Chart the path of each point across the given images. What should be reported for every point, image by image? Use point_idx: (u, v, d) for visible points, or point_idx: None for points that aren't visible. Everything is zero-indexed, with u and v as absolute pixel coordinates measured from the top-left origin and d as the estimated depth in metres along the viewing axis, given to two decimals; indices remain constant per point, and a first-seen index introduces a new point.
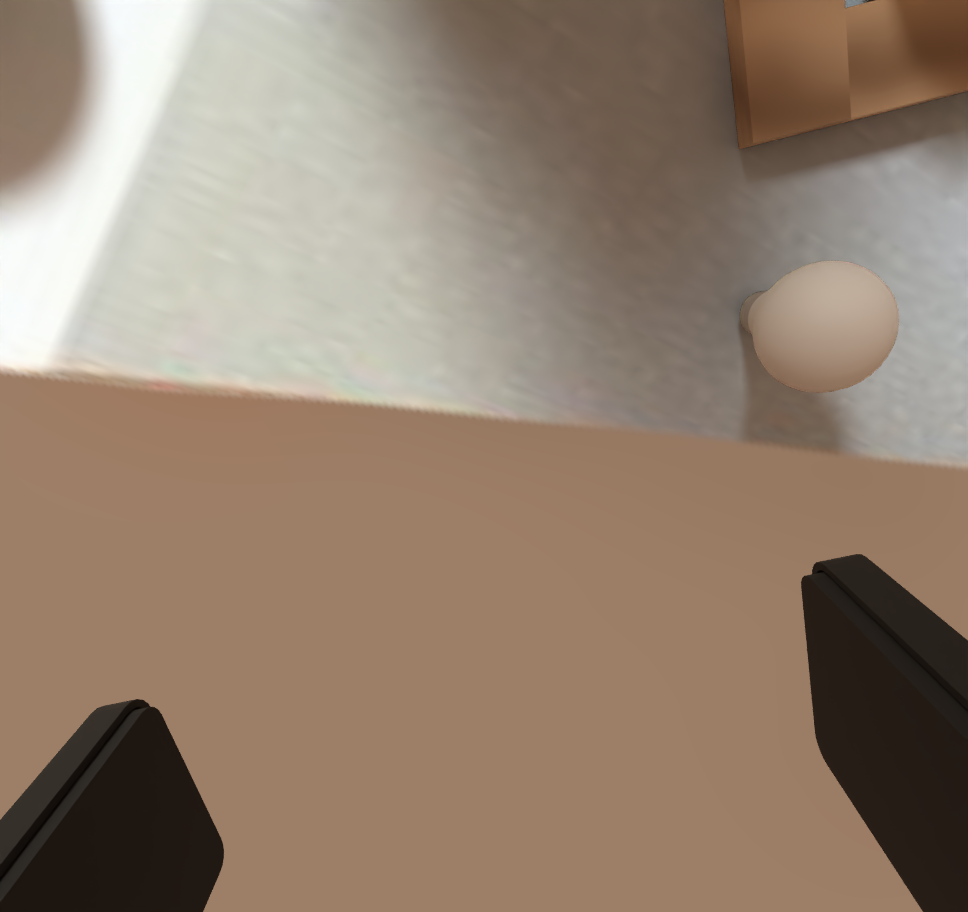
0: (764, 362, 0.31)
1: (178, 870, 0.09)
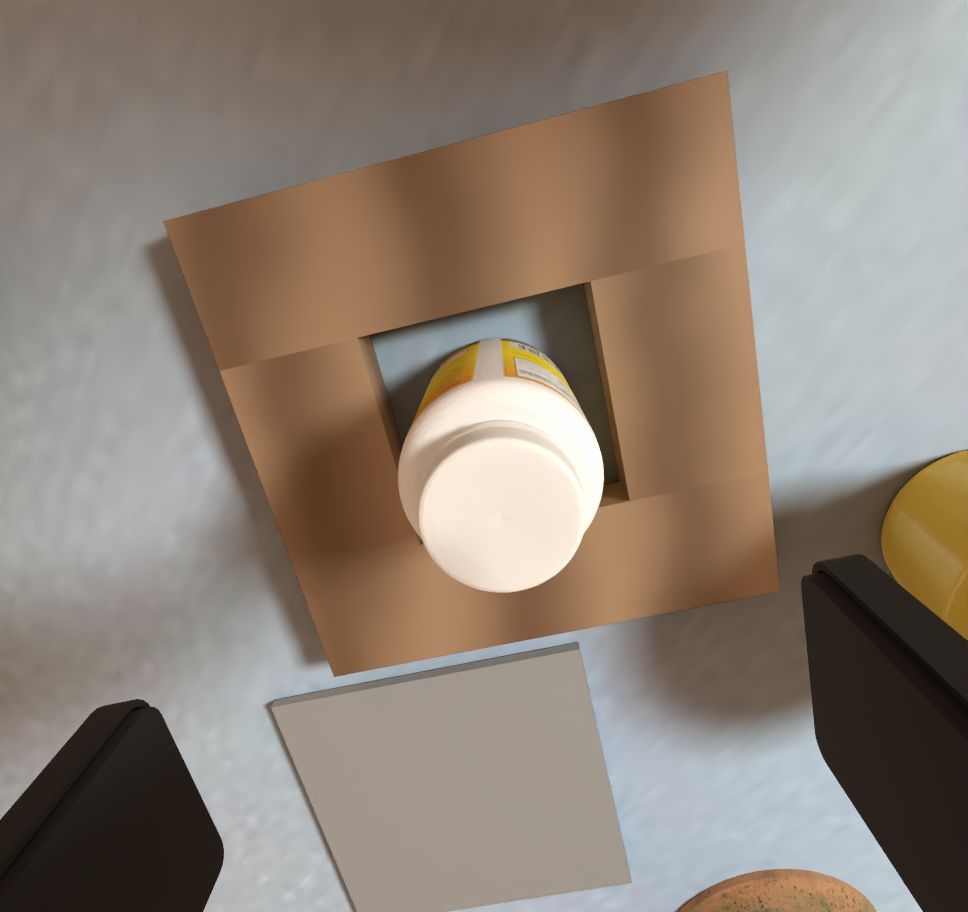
0: None
1: (179, 870, 0.09)
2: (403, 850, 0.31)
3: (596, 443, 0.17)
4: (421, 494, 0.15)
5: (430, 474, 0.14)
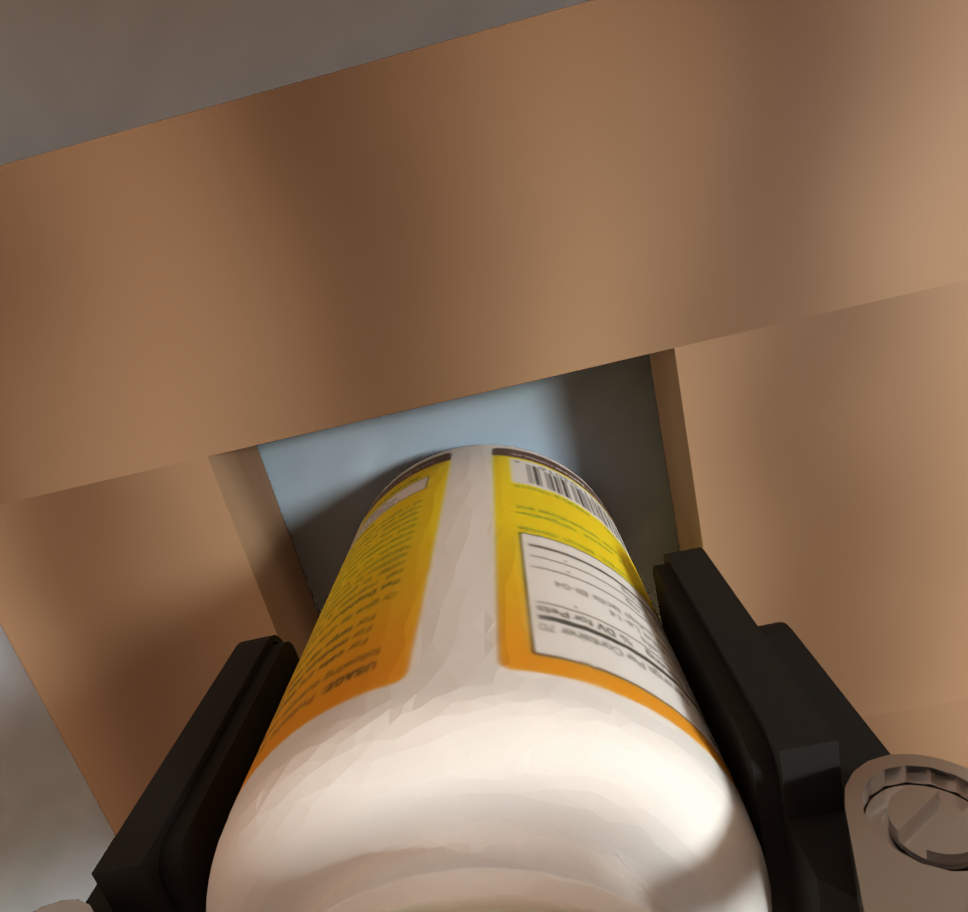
0: None
1: None
2: None
3: (759, 851, 0.06)
4: None
5: None
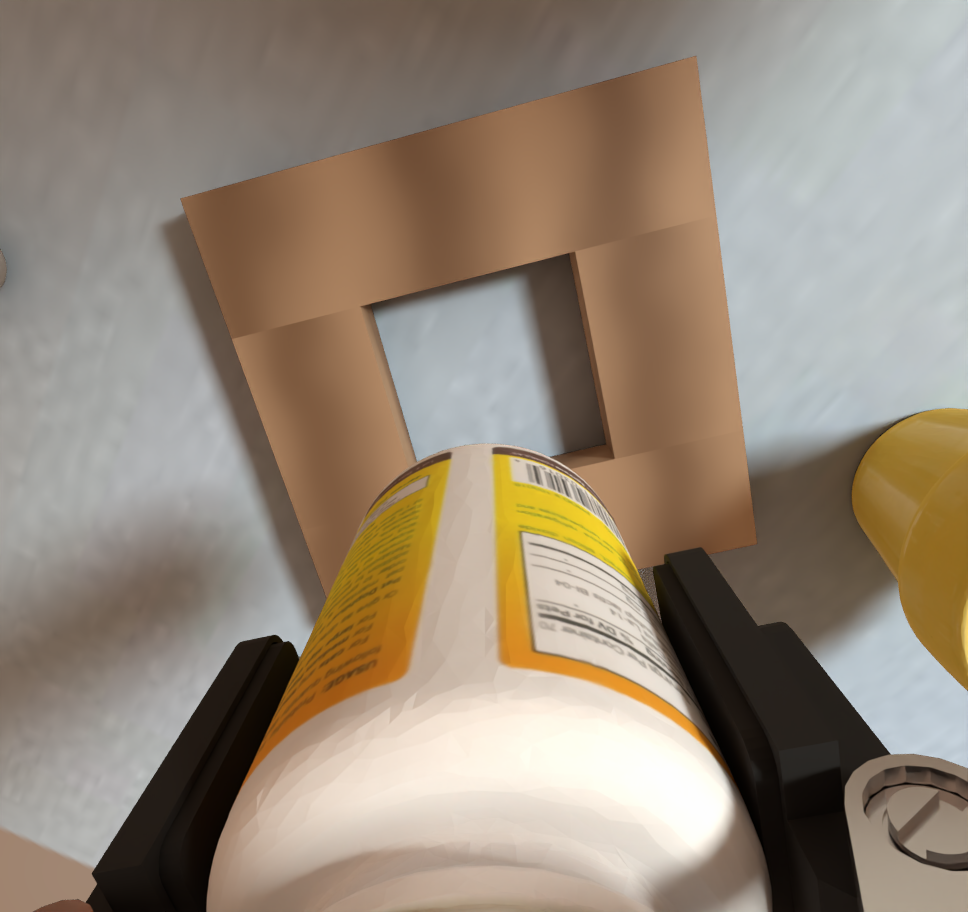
0: None
1: None
2: None
3: (759, 850, 0.06)
4: None
5: None
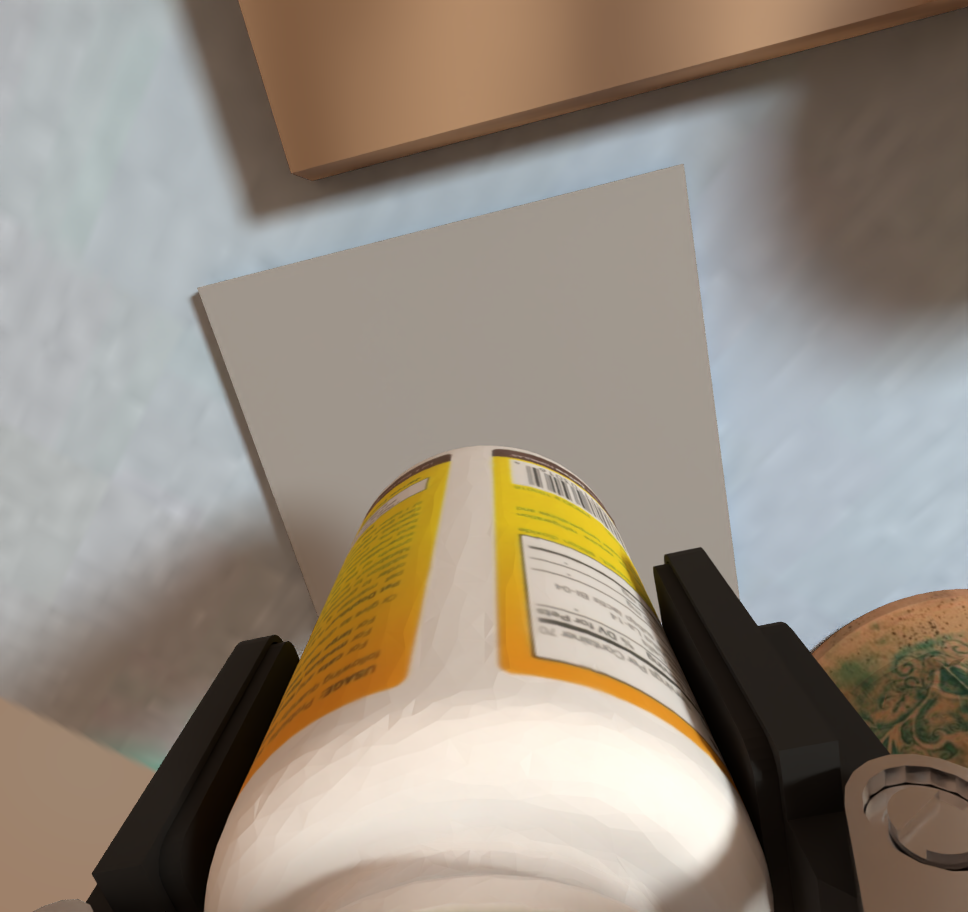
0: None
1: None
2: None
3: (761, 857, 0.06)
4: None
5: None
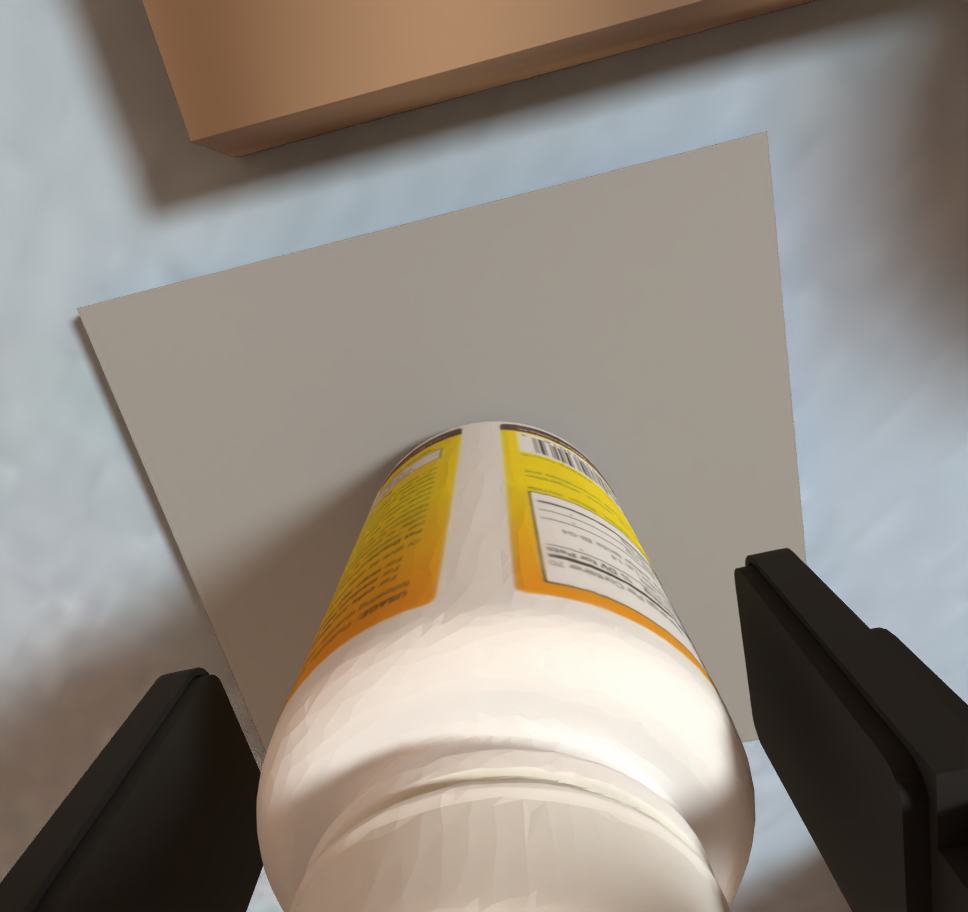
0: None
1: (240, 830, 0.09)
2: None
3: (743, 753, 0.07)
4: None
5: None
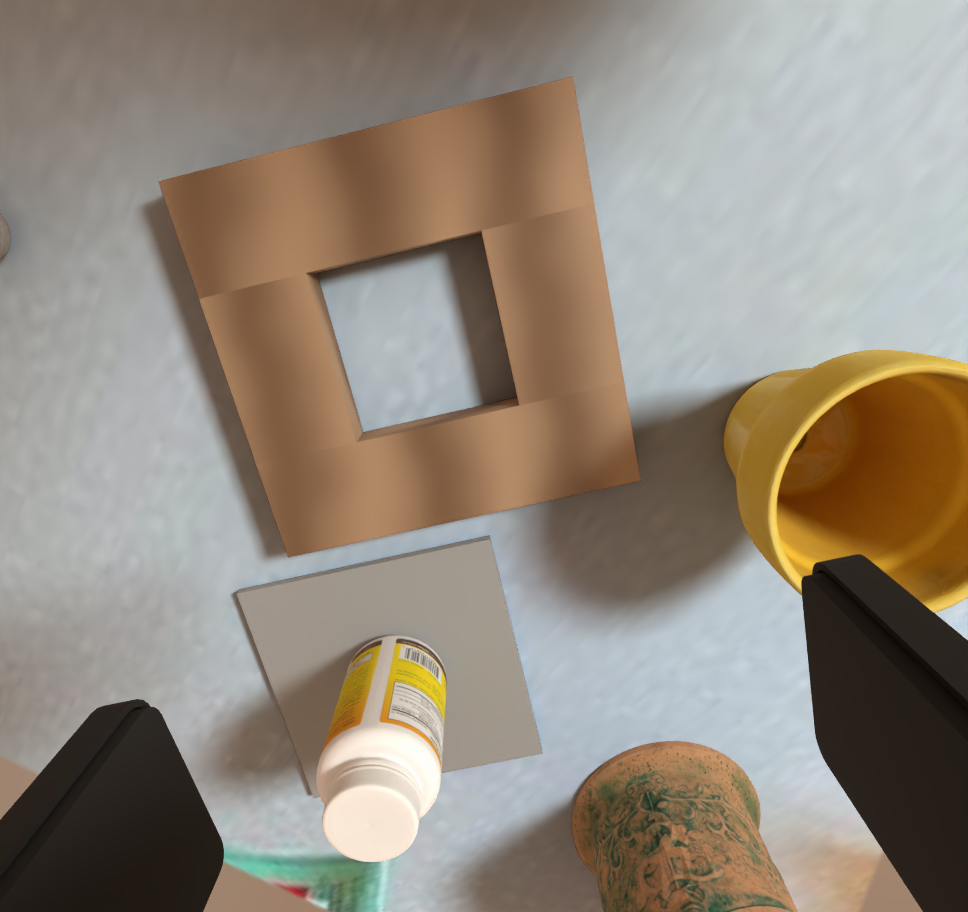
0: None
1: (178, 870, 0.09)
2: None
3: (433, 760, 0.28)
4: (324, 812, 0.26)
5: (328, 802, 0.26)
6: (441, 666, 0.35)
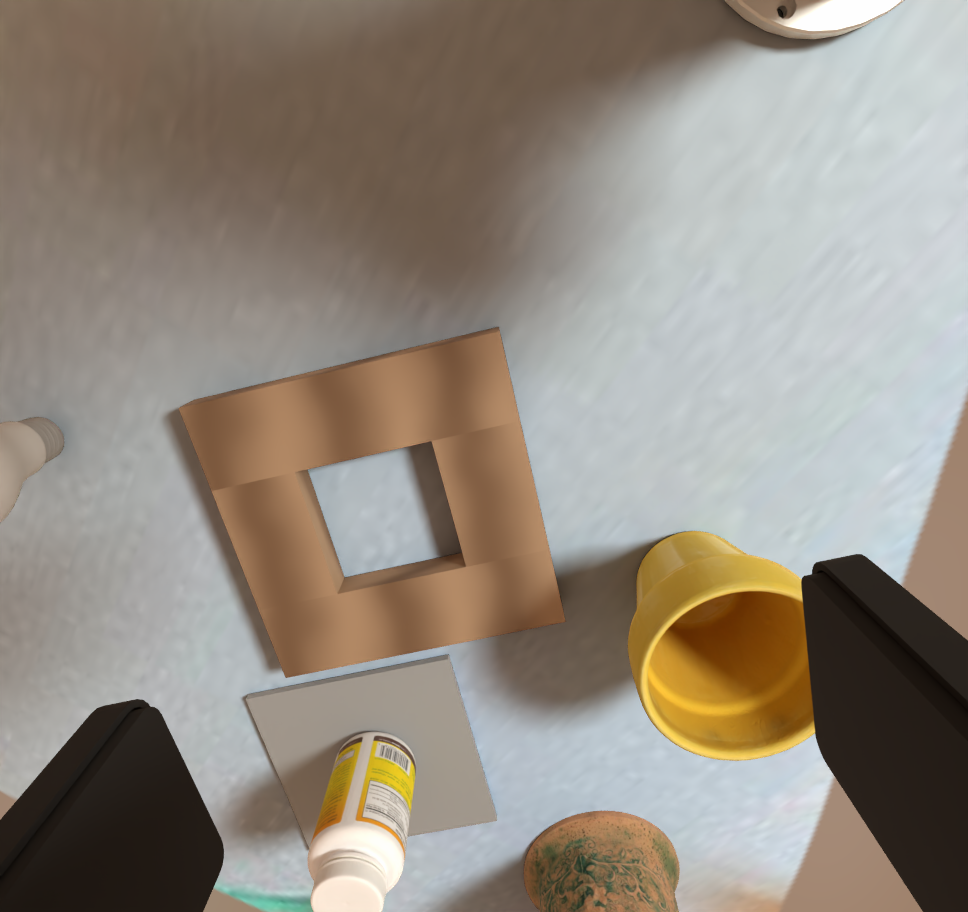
0: None
1: (178, 870, 0.09)
2: None
3: (397, 849, 0.36)
4: (311, 894, 0.34)
5: (315, 887, 0.34)
6: (411, 757, 0.43)
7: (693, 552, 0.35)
